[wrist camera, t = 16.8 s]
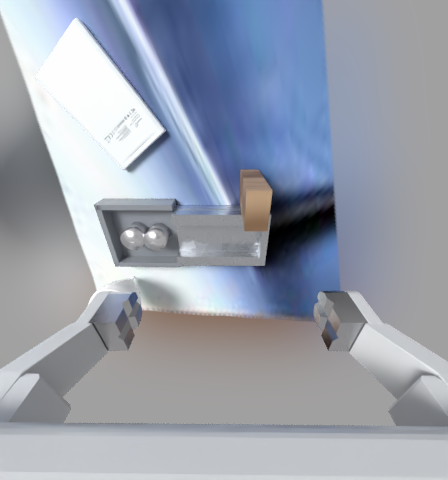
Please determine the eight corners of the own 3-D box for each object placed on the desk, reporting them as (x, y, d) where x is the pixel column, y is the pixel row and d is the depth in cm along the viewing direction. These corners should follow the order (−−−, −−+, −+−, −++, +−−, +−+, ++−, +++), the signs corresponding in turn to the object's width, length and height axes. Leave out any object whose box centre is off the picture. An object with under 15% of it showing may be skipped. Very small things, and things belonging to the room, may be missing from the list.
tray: (103, 198, 30) (93, 204, 28) (175, 199, 30) (171, 205, 28) (122, 257, 36) (115, 266, 34) (183, 257, 36) (180, 266, 34)
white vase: (105, 265, 37) (58, 320, 27) (142, 256, 36) (109, 311, 26) (125, 293, 41) (91, 352, 30) (160, 287, 40) (136, 345, 29)
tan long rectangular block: (240, 169, 28) (246, 190, 19) (258, 169, 28) (272, 190, 19) (239, 200, 30) (244, 231, 22) (255, 200, 30) (267, 231, 22)
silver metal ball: (146, 224, 32) (139, 233, 29) (166, 221, 32) (161, 229, 29) (154, 242, 34) (148, 252, 31) (173, 239, 33) (169, 249, 31)
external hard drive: (85, 23, 21) (167, 130, 26) (44, 81, 24) (127, 168, 29) (75, 15, 20) (164, 131, 25) (33, 78, 22) (121, 171, 27)
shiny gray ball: (126, 221, 32) (118, 229, 29) (148, 222, 32) (141, 231, 29) (130, 239, 33) (122, 249, 31) (151, 240, 33) (145, 250, 31)
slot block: (176, 205, 31) (170, 214, 28) (266, 205, 31) (271, 214, 28) (182, 253, 35) (178, 265, 32) (261, 253, 35) (264, 266, 32)
